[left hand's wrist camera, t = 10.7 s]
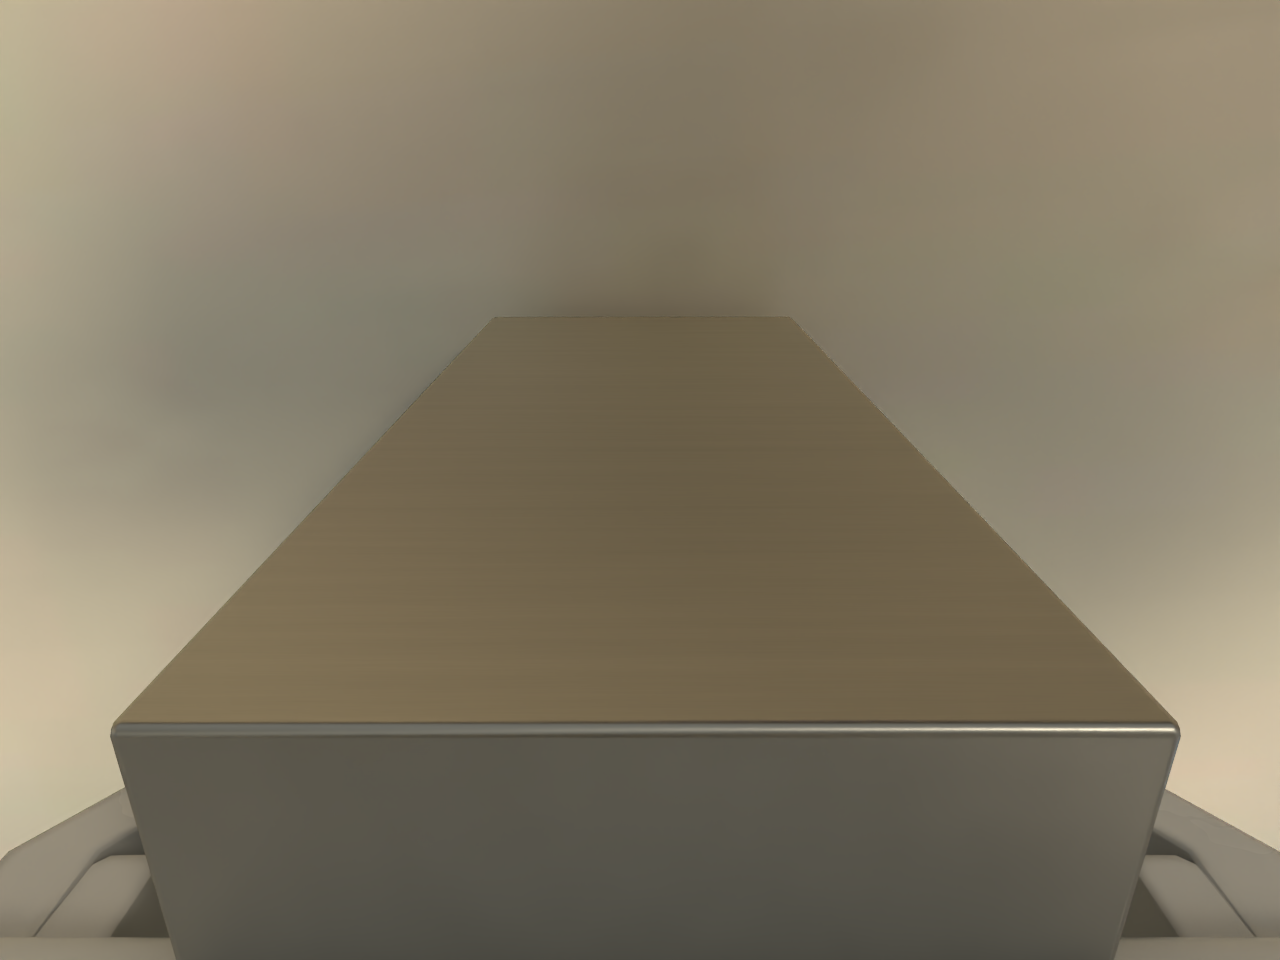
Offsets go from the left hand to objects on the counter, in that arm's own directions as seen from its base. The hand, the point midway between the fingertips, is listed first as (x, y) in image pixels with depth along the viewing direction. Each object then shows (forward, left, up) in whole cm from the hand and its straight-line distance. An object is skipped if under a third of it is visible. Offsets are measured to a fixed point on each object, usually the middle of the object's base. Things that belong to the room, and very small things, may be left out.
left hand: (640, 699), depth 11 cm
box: (+7, +2, -7) cm, 10 cm away
